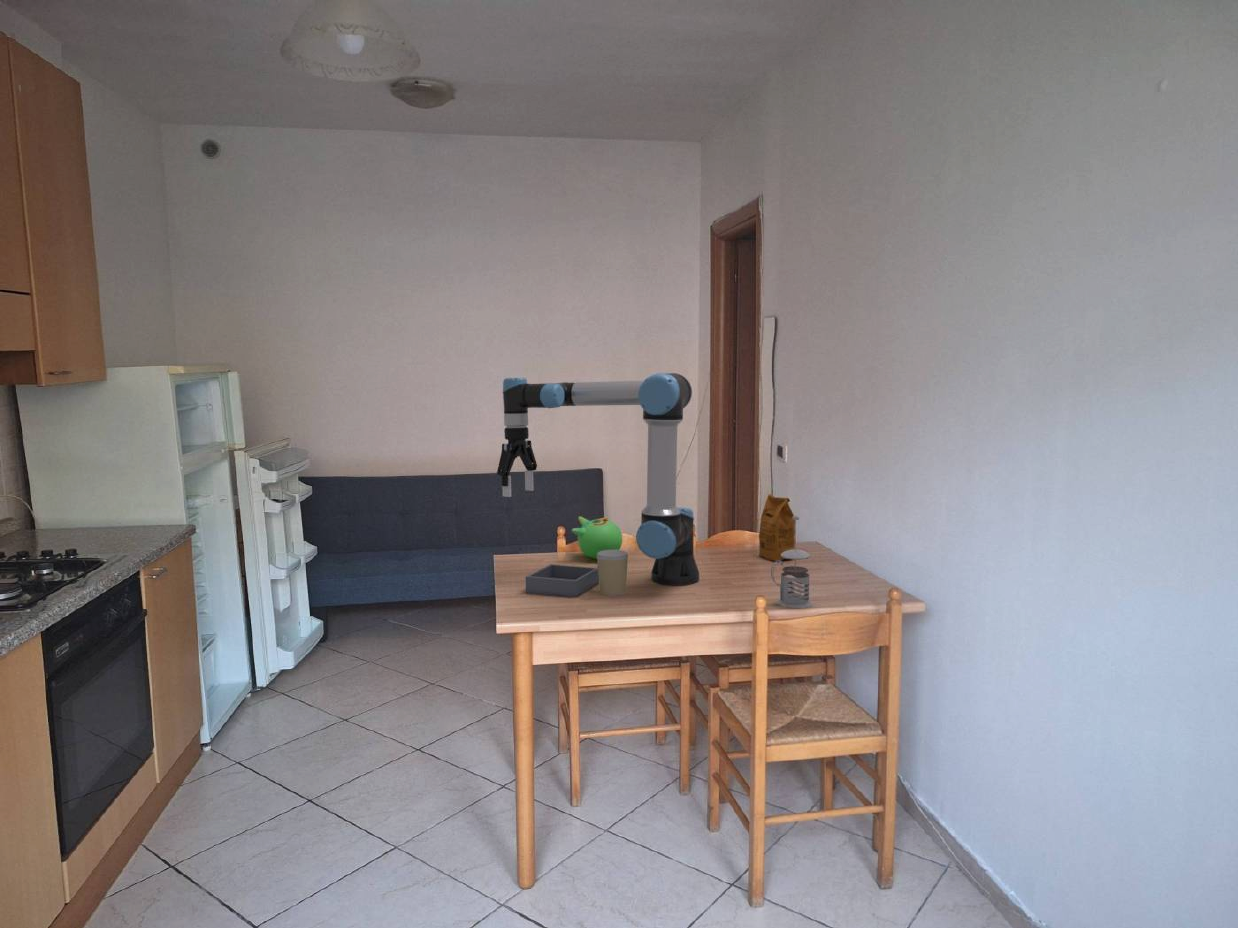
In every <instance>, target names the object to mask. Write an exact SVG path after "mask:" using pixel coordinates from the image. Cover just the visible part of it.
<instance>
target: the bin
mask: <svg viewBox="0 0 1238 928" xmlns="http://www.w3.org/2000/svg"><path fill="white" fill-rule="evenodd" d="M598 585H599V576H598V567H588V566H576V565H565V564H554V563H553V564H549V565H547V566H544V567H541V569H538V570H536V571H534V572H532V573H530V574H528V575H526V576H525V593H526V594H533V595H542V596H543V595H544V596H550V597H551V596H553V597H563V598H571V597H577V598H579V597H580V596H582V595H584V594H585V593H586V592H588V591H590V590H591V589H594V587H596V586H598Z"/></svg>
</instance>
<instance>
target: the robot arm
mask: <svg viewBox="0 0 1238 928" xmlns="http://www.w3.org/2000/svg"><path fill="white" fill-rule="evenodd" d="M502 381H503V383H502V399H503V421H504V423H503V424H504V427H505V428H504V429H503V430H504V432H503V433H504V439H505V440H507V443H502V444H501V453H500V456H499V457H500V458H499V461H498V466H497V471H496V474H497V475H498V476H500V477H501V487H502V488H501V489H502V497H505V498H507V497H508V498H511V497H512V479H511V478H512V476H511V475H510V473H511V471H512V468H513V465H514V462H515V460H516V459H517V458H518V457H519V458H520V460H521V462H522V464H523V466H524V468H525V469H526V470H524V487H525V488H524V489H525V491H526V492H527V491H529V492H530V491H531V492H533V491H534V490H535V489H534V488H535V487H534V485H535V484H534V471H537V467H538V464H537V459H536V456H535V454H534V451H533V447H532V446H533V445H532V441H531V440H528V439H529V428H528V427H527V426H529V415H528V414H529V412H528V411H529V409H530V408H531V409H532V408H533V409H534V408H535V409H557V408H560V407H583V406H585V407H588V406H591V407H592V406H597V407H598V406H640V407H641V408H642V420H643V421H644V422H645V423H646V424H647V466H646V468H647V469H646V470H647V471H646V472H647V473H646V474H647V475H646V477H647V478H646V480H647V481H646V505H645V507H644V508H643V509H642V510H641V515H640V516H641V520H640V526H639V527H638V528H637V530H636V535H635V539H636V541H635V542H636V545H637V547H638V549H639V550H640V551H641V552H642V554H643V555H644V556H647V557H649V558H650V559H654V562H653V566H652V569H651V573H650V576H651V577H650V579H651V581H652V582H654V583H656V584H659V585H666V586H686V585H691V584H696V583H697V582H699V581H700V571H699V568H698V564H697V562H696V560H695V559H696V558H695V555H694V553H695V552H694V535H695V534H694V522H695V518H694V511H693V509H692V508H690V507H678V506H677V502H676V501H677V469H678V468H677V466H678V465H677V459H678V457H677V456H678V452H677V451H678V426H679V424H681V422H683V419H684V417H683V416H684V408H686V407H687V406H688V405H689V403H690V401H691V399H692V395H693V390H692V385H691V383H690V382H689V380H688V379H687V378H686V377H685V376H683V375H682V374H679V373H677V372H676V373H675V372H672V373H671V372H668V373H666V372H659V373H658V372H657V373H654V374H651V375H650V376H647V377H646V378H645V379H644V380H619V381H618V380H617V381H615V380H614V381H611V380H610V381H586V382H585V381H583V382H582V381H581V382H580V381H577V382H576V381H575V382H566V381H565V382H547V383H545V382H544V383H528V379H527V377H506V378H504V379H503V380H502Z"/></svg>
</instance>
